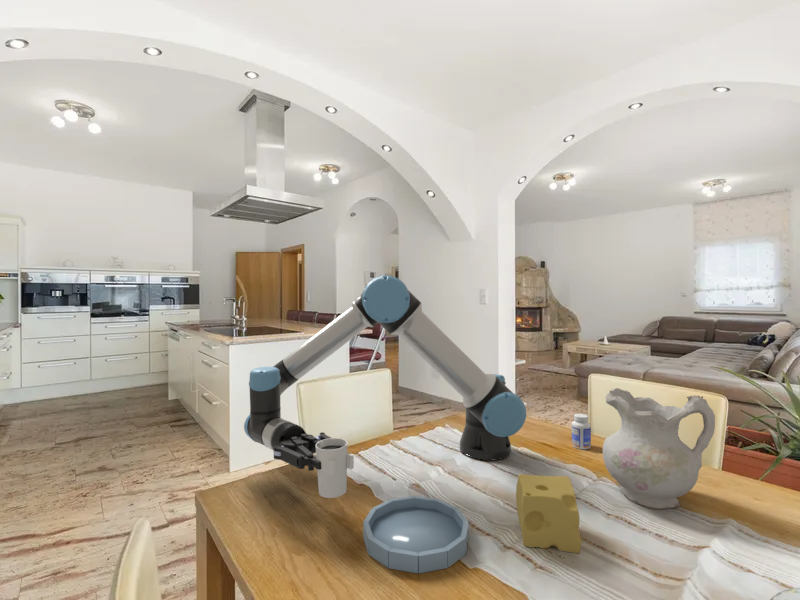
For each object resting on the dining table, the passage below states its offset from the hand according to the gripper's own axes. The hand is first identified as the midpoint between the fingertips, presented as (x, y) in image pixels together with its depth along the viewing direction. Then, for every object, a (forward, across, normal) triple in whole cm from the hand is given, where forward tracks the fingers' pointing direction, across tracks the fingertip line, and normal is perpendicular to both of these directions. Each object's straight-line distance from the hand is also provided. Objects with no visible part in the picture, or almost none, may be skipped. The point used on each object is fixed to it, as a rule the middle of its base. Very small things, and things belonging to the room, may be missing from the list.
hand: (343, 465), depth 83 cm
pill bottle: (+17, -78, -14) cm, 81 cm away
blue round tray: (+12, -8, -13) cm, 20 cm away
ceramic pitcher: (+41, -58, -14) cm, 73 cm away
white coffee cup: (-4, 0, -7) cm, 8 cm away
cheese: (+30, -27, -14) cm, 42 cm away
